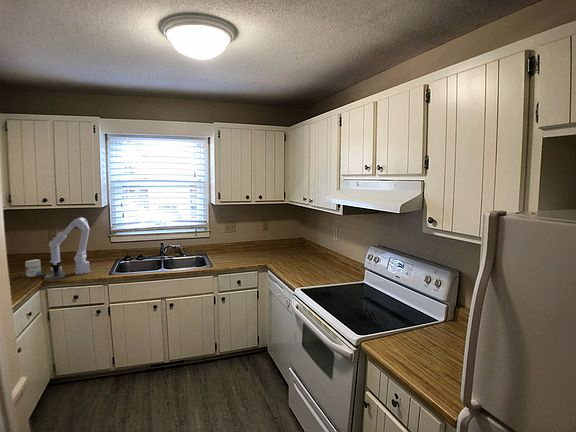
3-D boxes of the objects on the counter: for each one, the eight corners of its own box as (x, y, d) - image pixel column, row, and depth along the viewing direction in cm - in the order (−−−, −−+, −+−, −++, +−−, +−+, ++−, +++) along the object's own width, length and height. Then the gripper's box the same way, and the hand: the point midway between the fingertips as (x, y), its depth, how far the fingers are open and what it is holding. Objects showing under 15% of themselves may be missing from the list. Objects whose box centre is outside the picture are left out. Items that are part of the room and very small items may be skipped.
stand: (65, 274, 267) (64, 272, 267) (63, 278, 258) (63, 275, 258) (46, 276, 261) (46, 274, 261) (44, 280, 253) (44, 277, 252)
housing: (62, 272, 274) (61, 266, 273) (61, 273, 269) (61, 267, 269) (51, 273, 270) (51, 267, 270) (51, 275, 266) (50, 268, 265)
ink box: (38, 273, 270) (37, 258, 269) (41, 274, 268) (40, 259, 266) (25, 276, 263) (24, 261, 261) (29, 277, 260) (28, 262, 259)
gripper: (50, 253, 272) (51, 270, 274) (48, 257, 260) (49, 275, 261) (60, 252, 276) (61, 269, 277) (59, 256, 263) (60, 273, 265)
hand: (56, 271), depth 270 cm, fingers closed on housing, 5 cm apart
